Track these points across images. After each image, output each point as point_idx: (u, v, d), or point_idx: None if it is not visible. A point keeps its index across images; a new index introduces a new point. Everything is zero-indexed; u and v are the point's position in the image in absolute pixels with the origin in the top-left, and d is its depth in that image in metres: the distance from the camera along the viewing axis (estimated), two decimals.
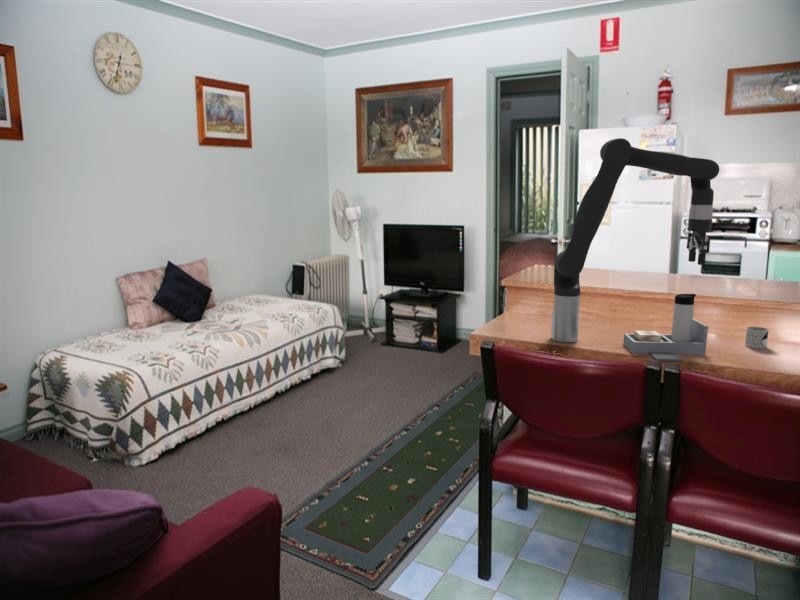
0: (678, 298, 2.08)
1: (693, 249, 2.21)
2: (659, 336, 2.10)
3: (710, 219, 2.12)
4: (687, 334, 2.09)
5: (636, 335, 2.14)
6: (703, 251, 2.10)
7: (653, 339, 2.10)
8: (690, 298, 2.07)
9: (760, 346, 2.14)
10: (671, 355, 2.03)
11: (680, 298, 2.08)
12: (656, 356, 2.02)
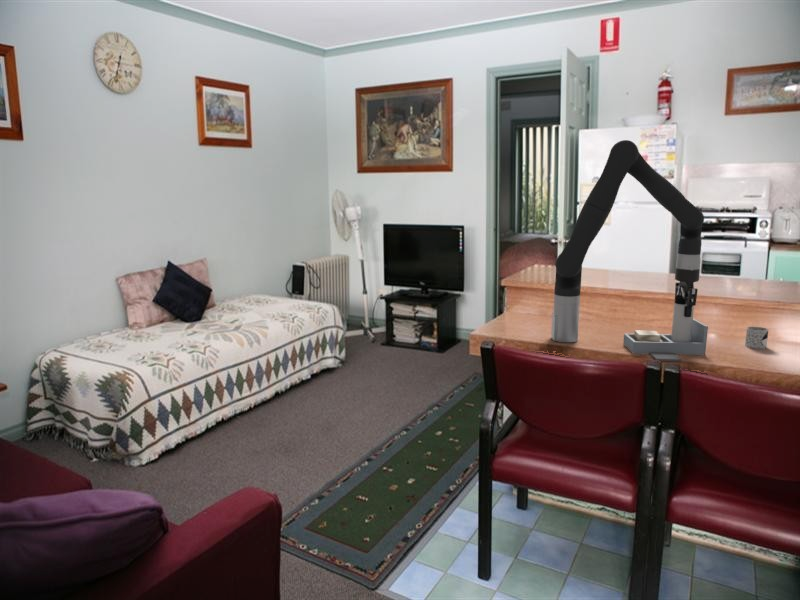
0: (678, 298, 2.08)
1: None
2: (658, 336, 2.10)
3: (698, 269, 2.05)
4: (687, 334, 2.09)
5: (636, 335, 2.15)
6: (689, 304, 2.04)
7: (652, 338, 2.10)
8: None
9: (760, 346, 2.14)
10: (671, 355, 2.03)
11: (680, 298, 2.08)
12: (656, 356, 2.02)
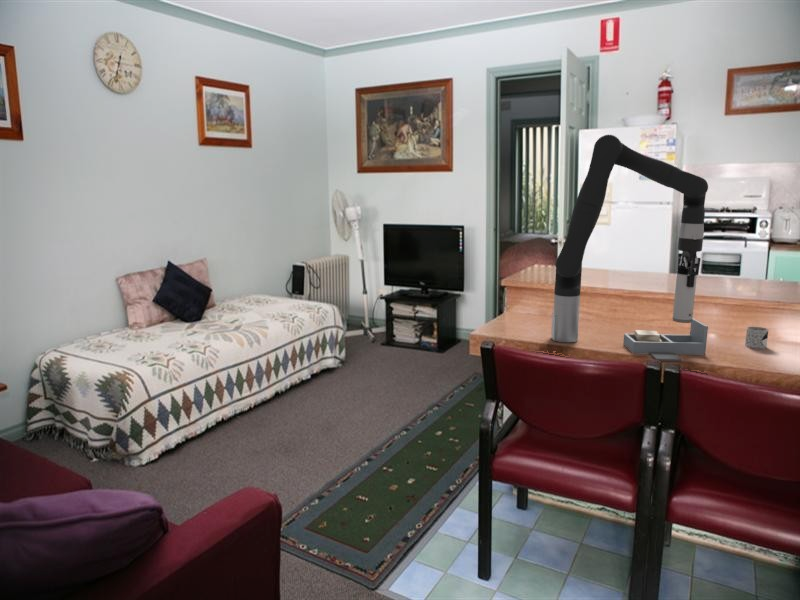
0: (681, 268, 2.06)
1: None
2: (657, 336, 2.10)
3: (701, 238, 2.03)
4: (689, 305, 2.07)
5: (635, 334, 2.15)
6: (692, 273, 2.02)
7: (651, 338, 2.11)
8: None
9: (760, 346, 2.14)
10: (671, 355, 2.03)
11: (683, 268, 2.06)
12: (656, 356, 2.02)
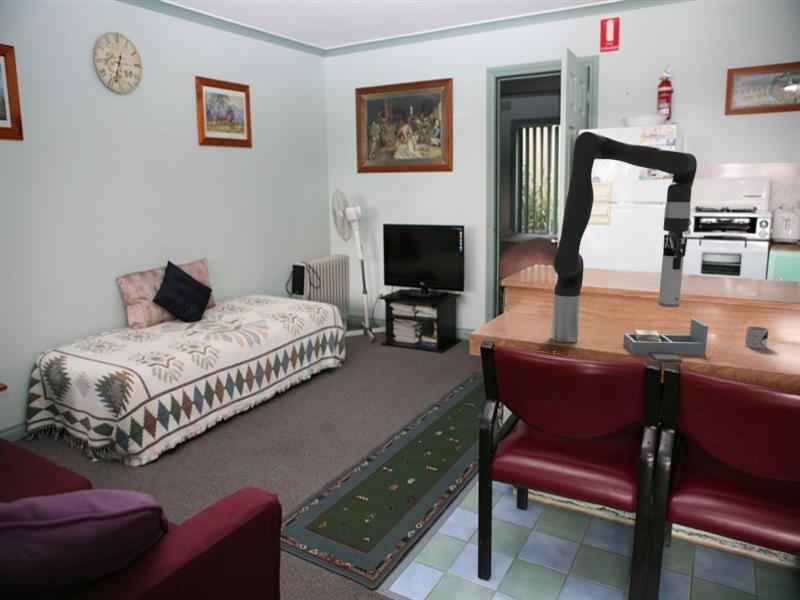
0: (667, 249, 1.95)
1: None
2: (657, 336, 2.10)
3: (687, 218, 1.92)
4: (676, 288, 1.96)
5: (635, 334, 2.16)
6: (678, 254, 1.91)
7: (651, 338, 2.11)
8: None
9: (760, 346, 2.14)
10: (671, 355, 2.03)
11: (669, 249, 1.95)
12: (656, 356, 2.02)
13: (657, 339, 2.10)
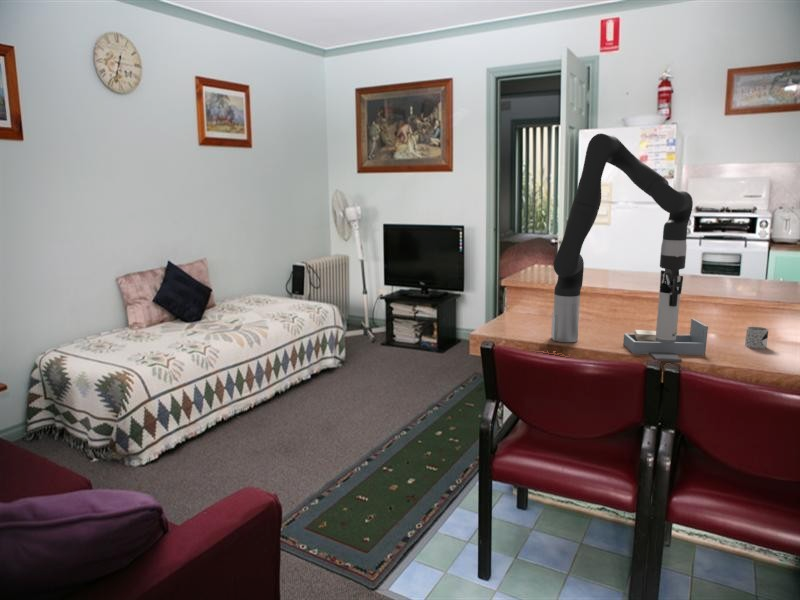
0: (663, 286, 1.97)
1: None
2: None
3: (683, 256, 1.94)
4: (672, 325, 1.98)
5: (635, 334, 2.16)
6: (674, 292, 1.93)
7: (650, 338, 2.11)
8: None
9: (760, 346, 2.14)
10: (671, 355, 2.03)
11: (665, 286, 1.97)
12: (656, 356, 2.02)
13: None
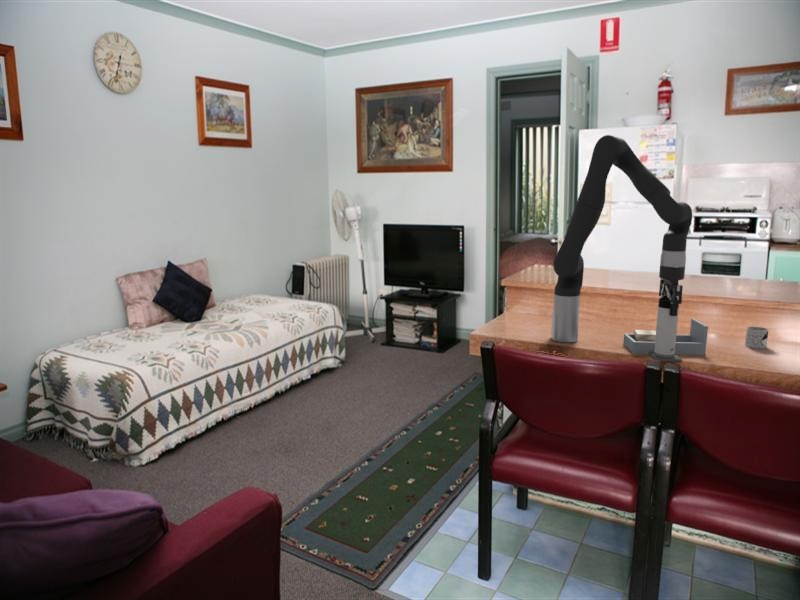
0: (662, 302, 1.98)
1: None
2: None
3: (683, 267, 1.94)
4: (671, 339, 1.99)
5: (635, 334, 2.16)
6: (675, 302, 1.93)
7: (650, 338, 2.11)
8: None
9: (760, 346, 2.14)
10: None
11: (664, 302, 1.97)
12: (656, 356, 2.02)
13: None
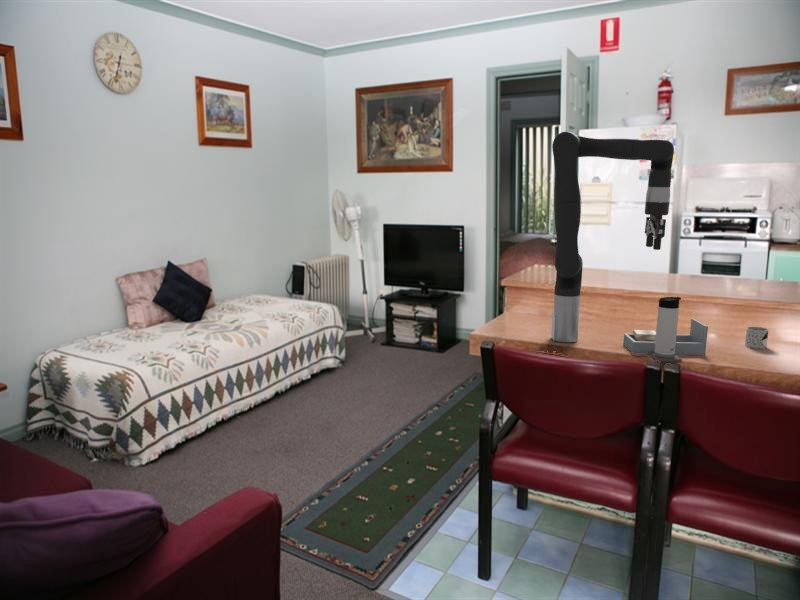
0: (662, 301, 1.98)
1: (651, 234, 2.13)
2: None
3: (667, 202, 2.03)
4: (671, 339, 1.99)
5: (634, 334, 2.16)
6: (658, 235, 2.02)
7: (650, 338, 2.11)
8: (675, 301, 1.97)
9: (760, 346, 2.14)
10: None
11: (664, 301, 1.98)
12: (656, 356, 2.02)
13: None
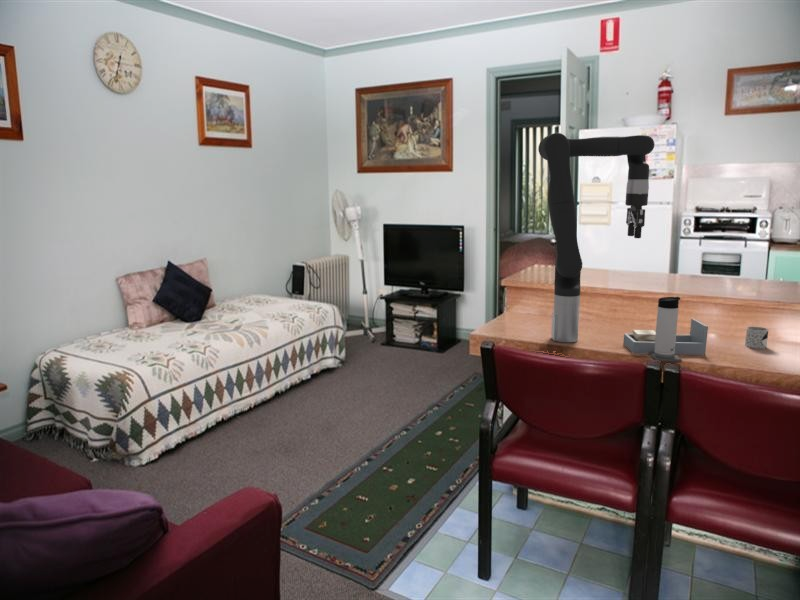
0: (661, 301, 1.98)
1: (632, 224, 2.26)
2: None
3: (646, 193, 2.17)
4: (671, 339, 1.99)
5: (634, 334, 2.16)
6: (638, 224, 2.15)
7: (650, 338, 2.11)
8: (674, 301, 1.97)
9: (760, 346, 2.14)
10: None
11: (664, 301, 1.98)
12: (656, 356, 2.02)
13: None
